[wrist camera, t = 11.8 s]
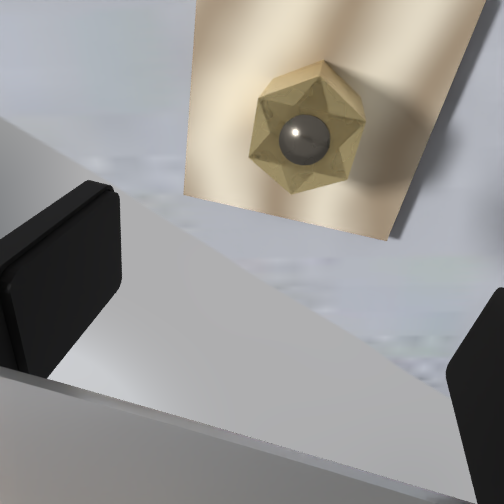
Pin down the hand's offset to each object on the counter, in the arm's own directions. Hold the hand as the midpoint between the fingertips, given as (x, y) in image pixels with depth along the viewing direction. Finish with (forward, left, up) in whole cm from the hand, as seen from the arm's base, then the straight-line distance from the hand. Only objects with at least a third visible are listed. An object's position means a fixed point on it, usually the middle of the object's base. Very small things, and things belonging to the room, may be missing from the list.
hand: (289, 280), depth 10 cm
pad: (+1, 0, -17) cm, 17 cm away
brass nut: (0, 0, -16) cm, 16 cm away
